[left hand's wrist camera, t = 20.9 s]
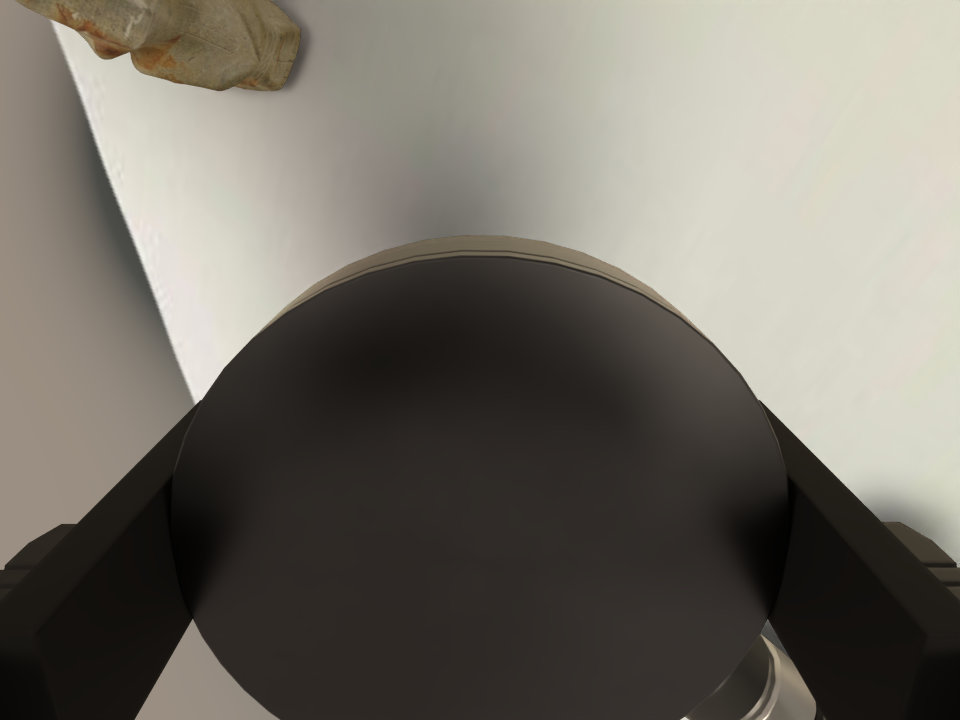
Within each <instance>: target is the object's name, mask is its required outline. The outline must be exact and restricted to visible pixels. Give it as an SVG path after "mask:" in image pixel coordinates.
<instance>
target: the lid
mask: <svg viewBox="0 0 960 720" xmlns="http://www.w3.org/2000/svg"><path fill="white" fill-rule="evenodd" d="M169 515H170V541H171V546H172V552H173V557H174V562H175V567H176V573H177V577H178V582H179V585H180V588H181V591H182V594H183V597H184V600H185V603H186V606H187V608H188V610H189V612H190V614H191V616H192V618H193V620H194V622H195V624H196V626H197V628H198V630H199V632H200V634H201V636H202V637H203V639H204V640H205V642H206V643H207V645H208V646H209V648H210V649H211V651H212V652H213V653H214V655H215V656H216V658H217V659H218V661H219V662H220V664H221V665H222V666H223V667H224V668H225V669H226V671H227V672H228V673H229V674H230V675H231V676H232V677H233V678H234V679H235V681H236V682H237V683H238V684H239V685H240V686H241V687H242V688H243V689H244V690H245V691H246V692H247V693H248V694H249V695H250V696H252V697H253V698H254V699H255V700H256V701H257V702H258V703H259V704H261V705H262V706H263V707H264V708H265V709H266V710H267V711H269V712H270V713H271V714H273V715H274V716H276V717H277V718H279V719H280V720H680V719H682V718H683V717H685V716H686V715H688V714H689V713H690V712H691V711H692V710H694V709H695V708H696V707H697V706H698V705H699V704H701V703H702V702H703V701H704V700H705V699H707V698H708V697H709V696H710V695H711V694H712V693H713V692H714V691H715V690H716V689H717V688H718V687H719V686H720V685H721V684H722V683H723V682H724V681H725V680H726V679H727V677H728V676H729V675H730V674H731V673H732V672H733V671H734V670H735V669H736V667H737V666H738V665H739V663H740V662H741V661H742V659H743V658H744V656H745V655H746V654H747V652H748V651H749V650H750V648H751V647H752V645H753V644H754V643H755V641H756V639H757V637H758V635H759V634H760V632H761V630H762V628H763V626H764V624H765V622H766V621H767V619H768V617H769V615H770V613H771V611H772V608H773V605H774V603H775V600H776V597H777V594H778V592H779V589H780V586H781V583H782V579H783V574H784V569H785V563H786V558H787V553H788V548H789V542H790V528H791V504H790V495H789V486H788V476H787V473H786V469H785V465H784V462H783V458H782V454H781V451H780V447H779V443H778V440H777V438H776V436H775V433H774V431H773V429H772V427H771V425H770V422H769V420H768V418H767V416H766V414H765V411H764V409H763V407H762V405H761V404H760V402H759V401H758V399H757V398H756V396H755V395H754V393H753V392H752V390H751V389H750V387H749V386H748V384H747V382H746V381H745V379H744V378H743V376H742V375H741V373H740V372H739V371H738V370H737V369H736V368H735V367H734V366H733V365H732V363H731V362H730V361H729V360H728V359H727V358H726V357H725V356H724V355H723V353H722V352H721V351H720V350H719V349H718V348H717V347H716V346H715V345H714V343H712V342H711V341H710V340H709V339H708V338H707V337H706V336H705V335H704V334H703V333H702V332H701V331H700V330H699V329H698V328H697V327H696V326H695V325H694V324H693V323H692V322H690V321H689V320H688V319H687V318H686V317H685V316H684V315H683V314H682V313H681V312H680V311H679V310H677V309H676V308H675V307H674V306H673V305H671V304H670V303H669V302H668V301H667V300H665V299H664V298H663V297H662V296H661V295H659V294H658V293H657V292H656V291H654V290H653V289H652V288H650V287H649V286H647V285H646V284H644V283H642V282H641V281H639V280H637V279H636V278H634V277H633V276H631V275H629V274H628V273H626V272H624V271H623V270H621V269H619V268H617V267H615V266H613V265H610V264H608V263H606V262H603V261H601V260H599V259H597V258H594V257H592V256H590V255H587V254H585V253H583V252H579V251H576V250H572V249H569V248H565V247H561V246H558V245H554V244H551V243H547V242H543V241H536V240H529V239H522V238H515V237H508V236H471V235H463V236H454V237H446V238H438V239H429V240H422V241H418V242H414V243H410V244H407V245H403V246H399V247H395V248H391V249H387V250H384V251H381V252H379V253H376V254H374V255H371V256H369V257H366V258H364V259H361V260H359V261H357V262H354V263H352V264H349V265H347V266H345V267H343V268H342V269H340V270H338V271H337V272H335V273H333V274H331V275H330V276H328V277H326V278H324V279H323V280H321V281H319V282H318V283H316V284H314V285H313V286H311V287H310V288H309V289H308V290H306V291H305V292H304V293H303V294H301V295H300V296H299V297H297V298H296V299H295V300H294V301H292V302H291V303H290V304H289V305H287V306H286V307H285V308H284V309H283V310H282V311H280V312H279V313H278V314H277V315H276V316H275V317H274V318H273V319H272V320H271V321H270V322H269V323H268V324H267V325H266V326H265V327H264V328H263V329H262V330H261V331H260V332H259V333H258V334H257V335H255V336H254V337H253V338H252V339H251V340H250V342H249V343H248V344H247V345H246V346H245V347H244V348H243V349H242V350H241V351H240V352H239V353H238V354H237V355H236V356H235V357H234V358H233V359H232V360H231V361H230V363H229V364H228V365H227V366H226V367H225V368H224V369H223V371H222V372H221V373H220V375H219V376H218V378H217V379H216V381H215V382H214V383H213V385H212V386H211V388H210V389H209V391H208V392H207V393H206V395H205V396H204V398H203V399H202V401H201V403H200V405H199V407H198V409H197V411H196V413H195V415H194V417H193V419H192V421H191V423H190V425H189V427H188V429H187V431H186V433H185V436H184V439H183V442H182V446H181V449H180V452H179V456H178V459H177V462H176V466H175V469H174V475H173V482H172V489H171V497H170V504H169Z"/></svg>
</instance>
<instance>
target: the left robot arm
mask: <svg viewBox="0 0 960 720" xmlns="http://www.w3.org/2000/svg"><path fill="white" fill-rule="evenodd" d="M201 401H202V400H200V401H199V402H198V403H197V404H196V405H195V406H194V407H193V408H192V409H191V410H190V411H189V412H188V413H187V414H186V415H185V416H184V417H183V418H182V419H181V420H180V421H179V422H178V423H177V424H176V425H175V426H174V427H173V428H172V429H171V430H170V431H169V432H168V433H167V434H166V435H165V436H164V437H163V438H162V439H161V440H160V441H159V442H158V443H157V444H156V445H155V446H154V447H153V448H152V449H151V450H150V451H149V452H148V453H147V454H146V455H145V456H144V457H143V458H142V459H141V460H140V461H139V462H138V463H137V464H136V465H135V466H134V468H133V469H131V470H130V471H129V473H127V474H126V475H125V476H124V477H123V478H122V479H121V480H120V481H119V482H118V483H117V484H116V485H115V486H114V487H113V488H112V489H111V490H110V491H109V492H108V493H107V494H106V495H105V496H104V497H103V498H102V499H101V500H100V501H99V502H98V503H97V504H96V505H95V506H94V507H93V508H92V509H91V510H90V512H88V513H87V514H86V515H85V516H84V517H83V518H82V519H81V520H80V521H79V522H78V524H61V525H59V526H57V527H56V528H54V529H52V530H50V531H49V532H47V533H45V534H44V535H42V536H40V537H38V538H37V539H35V540H33V541H32V542H30V543H28V544H27V545H26V546H25V547H24V548H23V549H22V550H21V551H20V552H19V553H18V554H17V555H15V556H14V557H13V558H12V559H11V560H10V561H9V562H8V563H7V564H6V565H5V569H4V570H0V720H135V718H136V716H137V714H138V713H139V711H140V709H141V707H142V706H143V704H144V702H145V701H146V699H147V697H148V695H149V693H150V692H151V690H152V688H153V687H154V685H155V683H156V681H157V680H158V678H159V676H160V674H161V673H162V671H163V669H164V668H165V666H166V664H167V662H168V661H169V659H170V657H171V655H172V654H173V652H174V650H175V648H176V647H177V645H178V643H179V642H180V640H181V638H182V636H183V635H184V633H185V631H186V629H187V628H188V626H189V624H190V622H191V621H192V619H193V618H192V616H191V614H190V612H189V610H188V608H187V606H186V603H185V600H184V597H183V594H182V591H181V588H180V585H179V582H178V577H177V573H176V567H175V562H174V557H173V552H172V546H171V541H170V515H169V504H170V497H171V489H172V482H173V475H174V469H175V466H176V462H177V459H178V456H179V452H180V449H181V446H182V442H183V439H184V436H185V433H186V431H187V429H188V427H189V425H190V423H191V421H192V419H193V417H194V415H195V413H196V411H197V409H198V407H199V405H200V403H201ZM758 401H759V402H760V404H761V405H762V407H763V409H764V411H765V414H766V416H767V418H768V420H769V422H770V425H771V427H772V429H773V431H774V433H775V436H776V438H777V440H778V443H779V447H780V451H781V454H782V458H783V462H784V465H785V469H786V473H787V476H788V486H789V495H790V504H791V528H790V542H789V548H788V553H787V558H786V563H785V569H784V574H783V579H782V583H781V586H780V589H779V592H778V594H777V597H776V600H775V603H774V605H773V608H772V611H771V613H770V615H769V617H768V620H769V622H770V623H771V625H772V627H773V629H774V630H775V632H776V634H777V636H778V637H779V639H780V641H781V643H782V644H783V646H784V648H785V649H786V651H787V653H788V655H789V656H790V658H791V660H792V662H793V663H794V665H795V667H796V669H797V670H798V672H799V674H800V676H801V677H802V679H803V681H804V682H805V684H806V686H807V688H808V689H809V691H810V693H811V695H812V696H813V698H814V700H815V702H816V703H817V705H818V707H819V708H820V710H821V712H822V714H823V715H824V717H825V719H826V720H960V568H957V565H956V562H955V561H954V560H952V559H951V558H950V557H949V556H948V555H947V554H946V553H945V552H944V551H943V550H942V549H941V548H940V547H938V546H937V545H936V544H935V543H934V542H933V541H932V540H930V539H928V538H926V537H925V536H923V535H921V534H920V533H918V532H916V531H914V530H913V529H911V528H909V527H907V526H906V525H904V524H902V523H900V522H881V521H880V520H879V519H878V518H877V517H876V516H875V515H874V514H873V513H872V512H871V511H870V510H869V509H868V508H867V507H866V506H865V505H864V504H863V503H862V502H861V501H860V500H859V499H858V498H857V497H856V496H855V495H854V494H853V493H852V492H851V491H850V490H849V489H848V488H847V487H846V486H845V485H844V484H843V483H842V482H841V481H840V480H839V479H838V478H837V477H836V476H835V475H834V474H833V473H832V472H831V471H830V470H829V469H828V468H827V467H826V466H825V465H824V464H823V463H822V462H821V461H820V460H819V459H818V458H817V457H816V456H815V455H814V454H813V453H812V452H811V451H810V450H809V449H808V448H807V447H806V446H805V445H804V444H803V443H802V442H801V441H800V440H799V439H798V438H797V437H796V436H795V435H794V434H793V433H792V432H791V431H790V430H789V429H788V428H787V427H786V426H785V425H784V424H783V423H782V422H781V421H780V420H779V419H778V418H777V417H776V416H775V415H774V414H773V413H772V412H771V411H770V410H769V409H768V408H767V407H766V406H765V405H764V404H763V403H762V402H761V401H760V400H758Z"/></svg>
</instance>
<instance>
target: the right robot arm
mask: <svg viewBox="0 0 960 720" xmlns="http://www.w3.org/2000/svg"><path fill="white" fill-rule="evenodd" d="M685 717H686V718H688V719H689V720H826V719H825V717H824V715H823V714H822V712H821V710H820V708H819V707H818V705H817V703H816V702H815V700H814V698H813V696H812V695H811V693H810V691H809V689H808V688H807V686H806V684H805V682H804V681H803V679H802V677H801V676H800V674H799V672H798V670H797V669H796V667H795V665H794V663H793V662H792V660H791V659H790V658H789V657H787V656H786V655H785V654H784V653H783V652H781V651H780V650H779V649H778V648H777V647H776V646H774V645H773V644H772V643H771V642H770V641H769V640H767V639H766V638H765V637H764V636H762V635H761V634H759V635H758V637H757V639H756V641H755V643H754V644H753V645H752V647H751V648H750V650H749V651H748V652H747V654H746V655H745V656H744V658H743V659H742V661H741V662H740V663H739V665H738V666H737V667H736V669H735V670H734V671H733V672H732V673H731V674H730V675H729V676H728V677H727V679H726V680H725V681H724V682H723V683H722V684H721V685H720V686H719V687H718V688H717V689H716V690H715V691H714V692H713V693H712V694H711V695H710V696H709V697H708V698H707V699H705V700H704V701H703V702H702V703H701V704H699V705H698V706H697V707H696V708H695V709H694V710H692V711H691V712H690V713H689V714H688V715H686V716H685Z"/></svg>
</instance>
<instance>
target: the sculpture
mask: <svg viewBox="0 0 960 720" xmlns="http://www.w3.org/2000/svg"><path fill="white" fill-rule="evenodd" d="M15 1H17V2H18V3H20V4H21V5H23V6H25V7H26V8H29V9H31V10H33V11H35V12H37V13H39V14H41V15H43V16H45V17H47V18H49V19H52V20H54V21H56V22H59V23H61V24H63V25H66V26H68V27H70V28H72V29H74V30H76V31H77V32H78V33H79V34H80V35H81V36H82V37H83V38H84V39H85V40H86V41H87V42H88V43H89V45H90V46H91V48H92V49H93V51H94V52H95V53H96V54H97V55H98V56H99V57H100V58H102V59H113V58H116V57H118V56H121V55H123V54H126V53H128V52H130V54H131V59H132V62H133V65H134V66H135V68H136V69H137V70H138V71H139V72H141V73H143V74H146V75H150V76H154V77H157V78H161V79H165V80H169V81H171V82H174V83H179V84H187V85H192V86H198V87H203V88H207V89H211V90H216V91H223V90H226V89H229V88H231V87H233V86H235V87H239V88H243V89H250V90H257V91H276V90H280V89H281V88H282V87H283V85H284V84H285V82H286V80H287V78H288V75H289V73H290V70H291V68H292V65H293V63H294V60H295V57H296V54H297V50H298V47H299V42H300V32H301V30H300V28H299V27H298V26H297V25H296V24H295V23H293V22H292V21H291V19H290V18H289V17H288V16H287V15H286V14H285V13H284V12H283V11H282V10H281V9H280V8H279V7H278V6H277V5H275V4H274V3H273V2H271V1H270V0H15Z"/></svg>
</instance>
